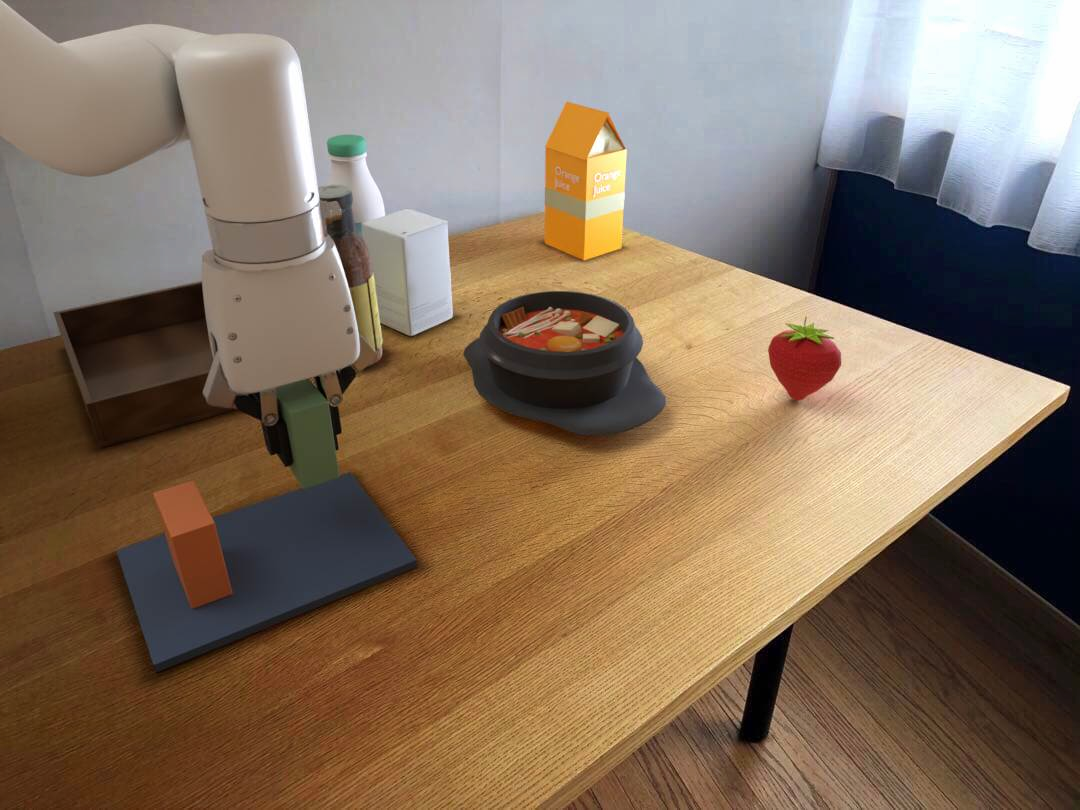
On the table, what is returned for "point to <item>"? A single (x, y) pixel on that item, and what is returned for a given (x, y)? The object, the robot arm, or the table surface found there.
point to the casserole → (565, 363)
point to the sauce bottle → (355, 266)
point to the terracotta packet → (193, 543)
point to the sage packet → (308, 433)
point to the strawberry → (803, 359)
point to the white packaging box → (410, 270)
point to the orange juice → (584, 183)
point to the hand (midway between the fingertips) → (305, 448)
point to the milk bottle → (355, 177)
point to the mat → (266, 568)
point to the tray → (141, 361)
